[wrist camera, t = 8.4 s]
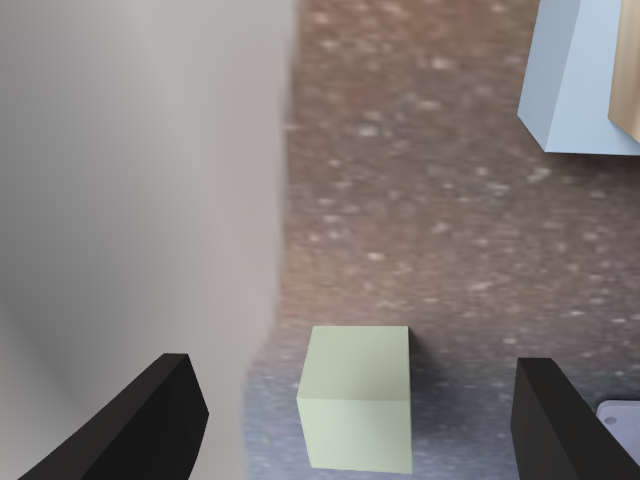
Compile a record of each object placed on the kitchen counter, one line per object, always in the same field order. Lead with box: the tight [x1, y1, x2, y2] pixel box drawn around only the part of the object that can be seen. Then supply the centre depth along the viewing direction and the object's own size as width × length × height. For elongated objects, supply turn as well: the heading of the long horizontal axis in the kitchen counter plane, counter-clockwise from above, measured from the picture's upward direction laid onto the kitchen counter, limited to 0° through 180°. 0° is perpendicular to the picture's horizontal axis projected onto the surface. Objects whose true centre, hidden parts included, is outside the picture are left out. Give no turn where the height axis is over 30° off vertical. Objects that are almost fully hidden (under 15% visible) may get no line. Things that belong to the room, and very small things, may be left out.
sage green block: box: [296, 326, 412, 474], centre depth 22 cm, size 4×4×4 cm
